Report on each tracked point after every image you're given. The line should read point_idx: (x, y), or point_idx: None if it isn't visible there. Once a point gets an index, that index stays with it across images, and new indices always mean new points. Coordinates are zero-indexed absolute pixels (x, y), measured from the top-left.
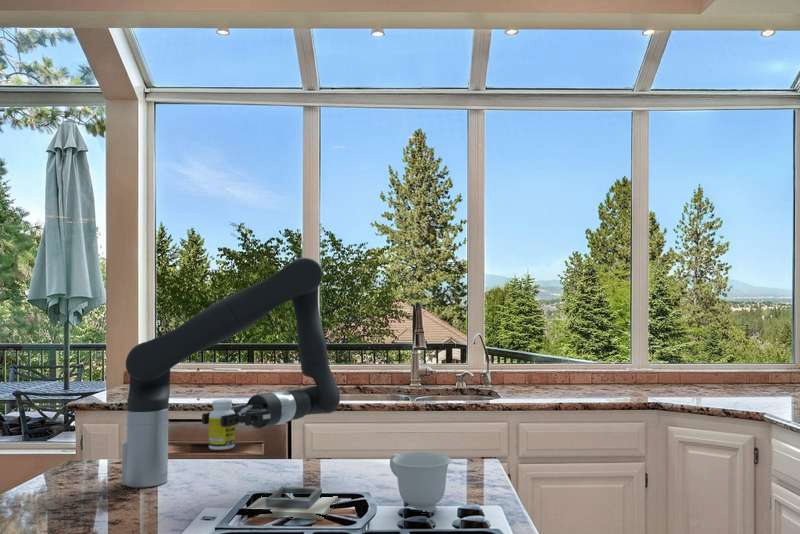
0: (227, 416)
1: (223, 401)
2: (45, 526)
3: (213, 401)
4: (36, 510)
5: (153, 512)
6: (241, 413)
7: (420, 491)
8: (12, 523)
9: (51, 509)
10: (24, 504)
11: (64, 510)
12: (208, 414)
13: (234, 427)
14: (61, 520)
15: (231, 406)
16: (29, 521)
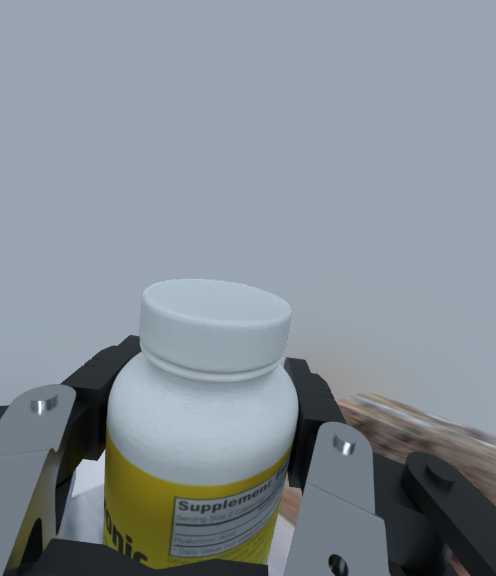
0: (120, 348)
1: (187, 285)
2: (339, 402)
3: (249, 286)
4: (434, 433)
5: (285, 508)
6: (23, 393)
7: None
8: (379, 398)
9: (429, 444)
10: (484, 444)
11: (411, 448)
12: (288, 373)
13: (105, 494)
14: (354, 420)
15: (144, 346)
16: (376, 406)
